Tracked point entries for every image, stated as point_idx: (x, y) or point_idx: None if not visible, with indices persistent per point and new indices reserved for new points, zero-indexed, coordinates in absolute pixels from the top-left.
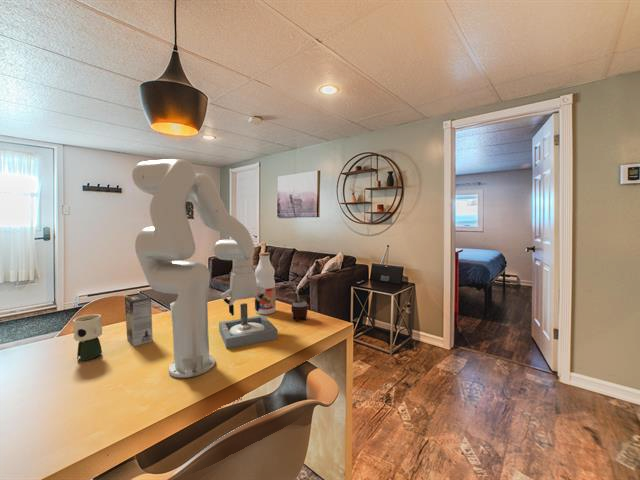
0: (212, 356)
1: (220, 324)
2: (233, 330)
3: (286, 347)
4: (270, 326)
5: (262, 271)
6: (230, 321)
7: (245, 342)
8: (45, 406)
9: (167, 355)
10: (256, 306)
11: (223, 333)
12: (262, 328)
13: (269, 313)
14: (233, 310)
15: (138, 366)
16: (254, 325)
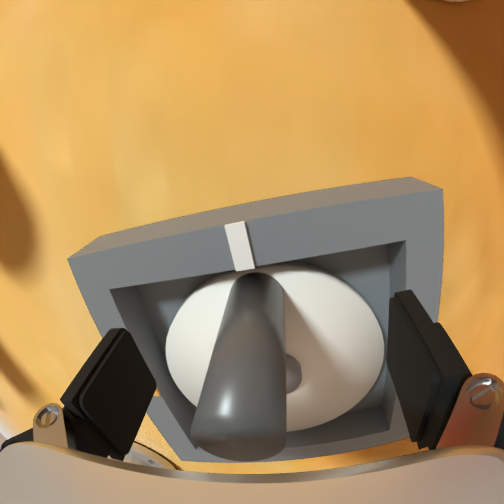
0: (163, 467)
1: (89, 305)
2: (190, 375)
3: (393, 449)
4: (401, 410)
5: None
6: (139, 267)
7: None
8: (9, 433)
9: (36, 387)
10: (399, 391)
11: (150, 412)
12: (363, 388)
13: (452, 1)
14: (141, 418)
15: (20, 403)
16: (329, 339)
